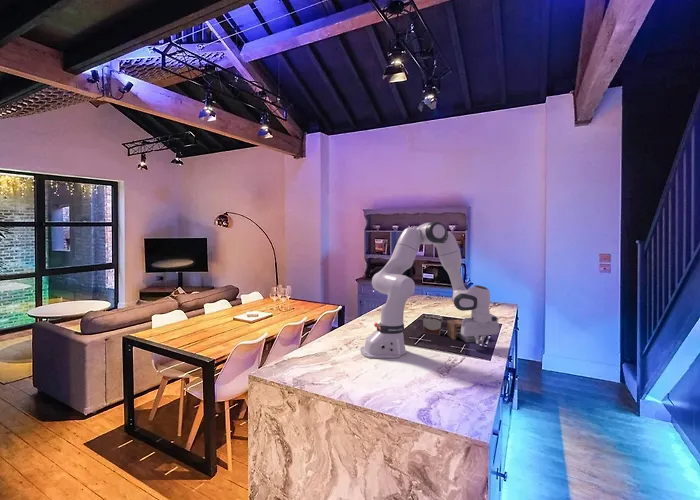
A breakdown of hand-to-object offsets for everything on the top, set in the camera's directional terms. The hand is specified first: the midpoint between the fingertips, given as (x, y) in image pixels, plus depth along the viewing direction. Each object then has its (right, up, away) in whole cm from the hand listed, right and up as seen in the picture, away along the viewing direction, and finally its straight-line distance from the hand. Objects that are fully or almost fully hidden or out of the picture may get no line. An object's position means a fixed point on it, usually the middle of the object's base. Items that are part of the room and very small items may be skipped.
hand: (479, 343), depth 188 cm
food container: (-18, 0, +24) cm, 30 cm away
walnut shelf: (-4, 0, +17) cm, 17 cm away
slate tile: (-2, -1, +13) cm, 13 cm away
